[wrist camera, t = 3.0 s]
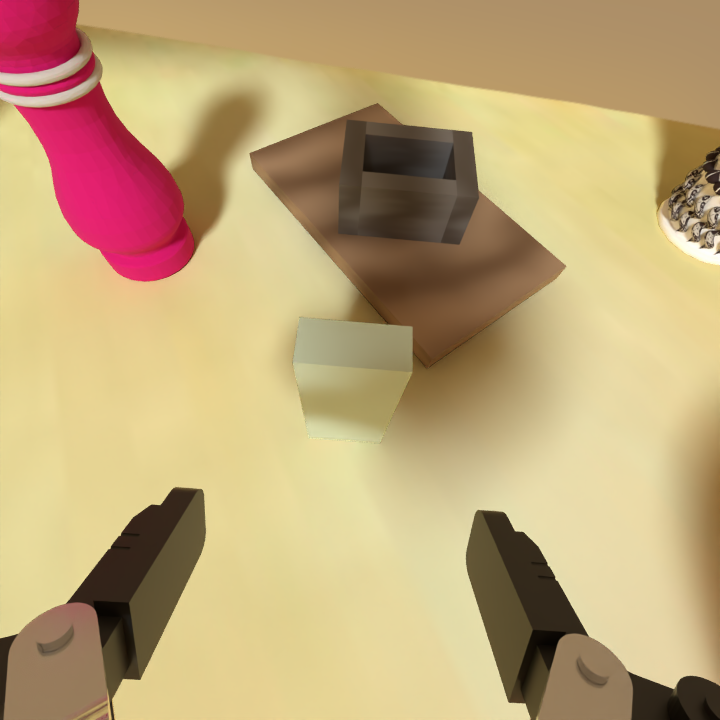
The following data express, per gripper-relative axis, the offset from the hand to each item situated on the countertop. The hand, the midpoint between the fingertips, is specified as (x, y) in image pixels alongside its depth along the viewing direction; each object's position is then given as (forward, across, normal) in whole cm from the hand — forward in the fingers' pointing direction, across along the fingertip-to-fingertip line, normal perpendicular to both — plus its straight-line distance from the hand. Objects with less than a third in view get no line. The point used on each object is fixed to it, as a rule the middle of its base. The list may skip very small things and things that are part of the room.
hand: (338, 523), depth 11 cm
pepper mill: (+22, +16, -5) cm, 28 cm away
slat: (+13, 0, +4) cm, 13 cm away
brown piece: (+26, -3, -9) cm, 27 cm away
